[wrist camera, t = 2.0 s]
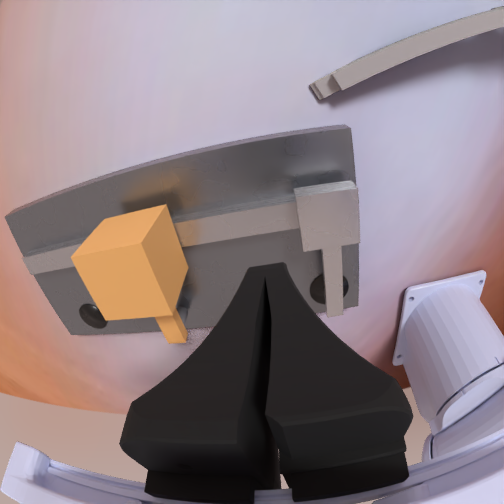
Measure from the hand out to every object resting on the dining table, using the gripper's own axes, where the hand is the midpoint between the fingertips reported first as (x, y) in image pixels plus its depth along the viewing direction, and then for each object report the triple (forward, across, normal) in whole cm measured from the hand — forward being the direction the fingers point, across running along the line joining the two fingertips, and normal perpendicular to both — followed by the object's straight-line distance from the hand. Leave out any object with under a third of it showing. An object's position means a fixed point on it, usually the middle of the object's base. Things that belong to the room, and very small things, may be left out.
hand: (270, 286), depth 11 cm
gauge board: (+8, +7, +2) cm, 11 cm away
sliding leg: (+6, +7, +2) cm, 10 cm away
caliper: (+8, -13, -10) cm, 18 cm away
